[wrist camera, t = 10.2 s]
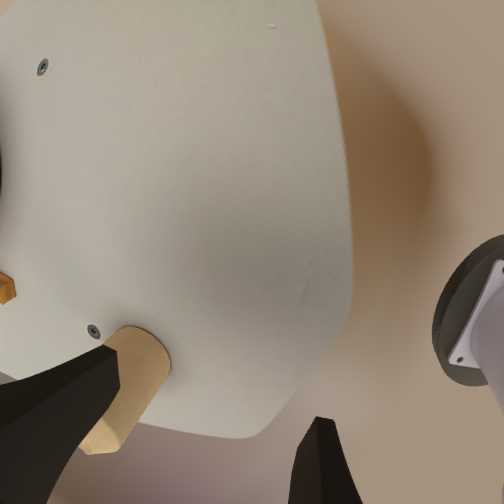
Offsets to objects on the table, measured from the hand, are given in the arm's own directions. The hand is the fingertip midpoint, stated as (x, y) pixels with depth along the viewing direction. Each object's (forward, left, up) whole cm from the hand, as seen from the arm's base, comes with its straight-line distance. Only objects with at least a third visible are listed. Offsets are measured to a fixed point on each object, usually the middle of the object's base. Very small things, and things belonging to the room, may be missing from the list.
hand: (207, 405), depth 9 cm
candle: (+8, +9, -10) cm, 16 cm away
